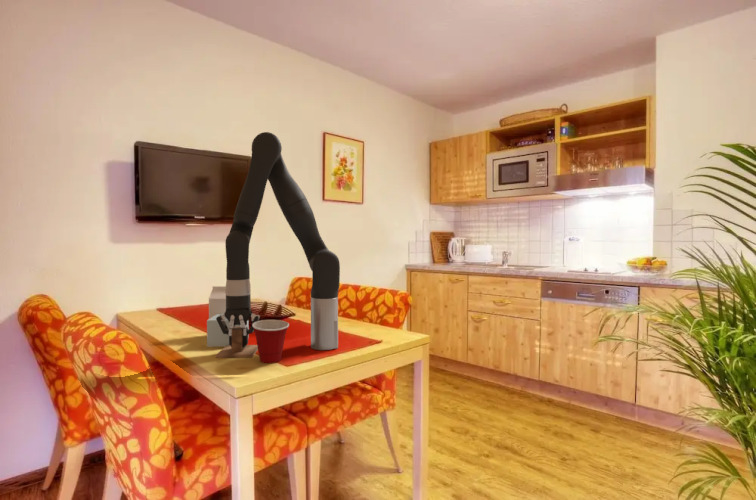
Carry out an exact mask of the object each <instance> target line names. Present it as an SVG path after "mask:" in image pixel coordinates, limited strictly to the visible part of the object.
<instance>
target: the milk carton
mask: <svg viewBox="0 0 756 500" xmlns="http://www.w3.org/2000/svg"><path fill="white" fill-rule="evenodd" d="M225 290H226V285H225V286H220V285H219V286H212V290H211V292H210V294H209V297H208V319H210V318H212V317H213V316H215V315H217V314H224V313H225V311H226V293H225Z"/></svg>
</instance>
